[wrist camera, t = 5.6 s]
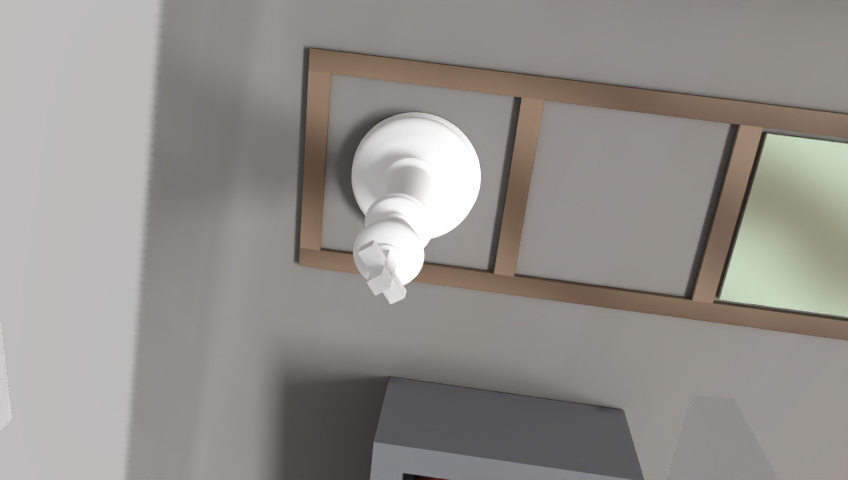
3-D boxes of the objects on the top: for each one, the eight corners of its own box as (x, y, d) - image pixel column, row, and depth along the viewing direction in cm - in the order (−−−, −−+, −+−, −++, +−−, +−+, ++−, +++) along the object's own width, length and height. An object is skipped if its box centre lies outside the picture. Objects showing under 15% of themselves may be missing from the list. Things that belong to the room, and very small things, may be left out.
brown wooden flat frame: (310, 47, 26) (309, 48, 26) (993, 132, 25) (997, 133, 25) (300, 264, 29) (299, 265, 29) (905, 346, 28) (909, 348, 28)
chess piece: (393, 256, 29) (347, 396, 20) (328, 150, 28) (245, 247, 18) (503, 201, 28) (509, 322, 18) (440, 87, 26) (413, 157, 17)
